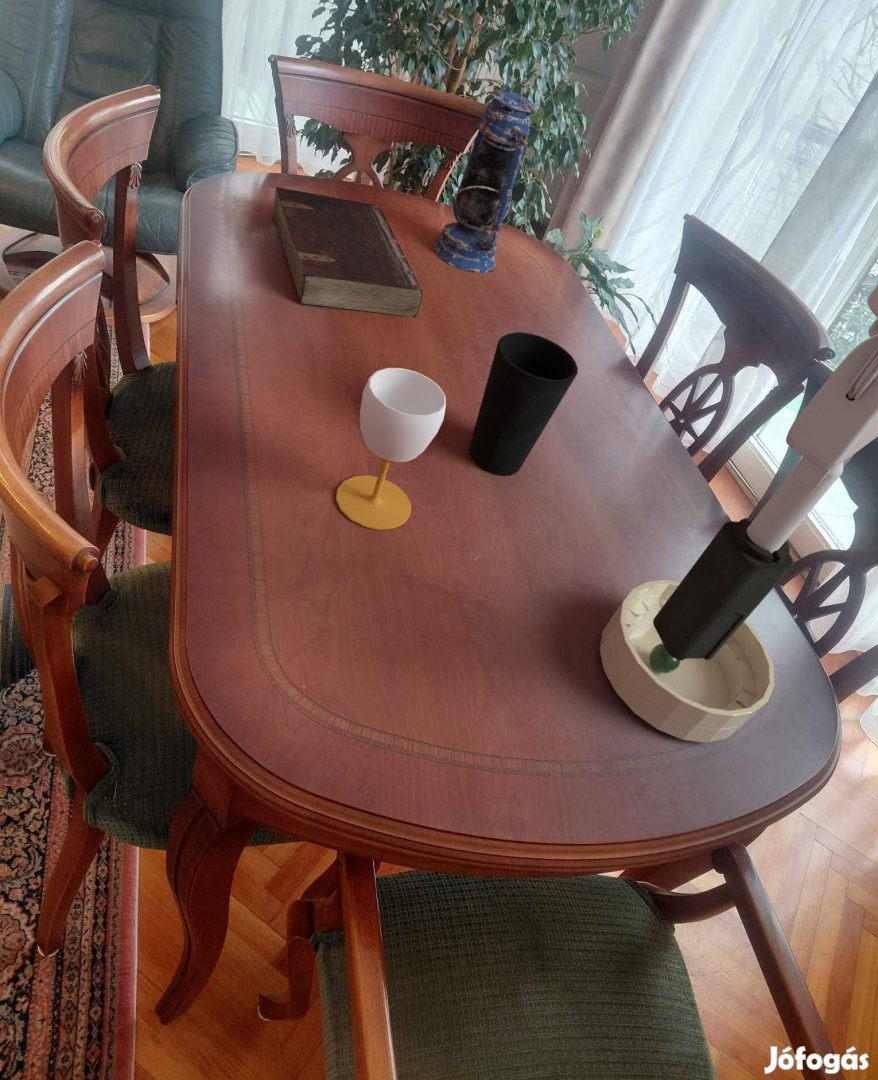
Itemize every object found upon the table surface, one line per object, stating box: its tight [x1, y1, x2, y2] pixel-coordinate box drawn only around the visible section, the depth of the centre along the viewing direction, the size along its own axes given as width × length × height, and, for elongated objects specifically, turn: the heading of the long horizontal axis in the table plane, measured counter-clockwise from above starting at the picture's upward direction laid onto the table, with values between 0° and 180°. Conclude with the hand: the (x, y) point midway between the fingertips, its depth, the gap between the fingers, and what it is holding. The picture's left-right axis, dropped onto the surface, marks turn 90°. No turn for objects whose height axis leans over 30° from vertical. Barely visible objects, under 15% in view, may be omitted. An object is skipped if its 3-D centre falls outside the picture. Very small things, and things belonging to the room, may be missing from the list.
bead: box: [650, 643, 681, 673], centre depth 84 cm, size 3×3×3 cm
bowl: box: [599, 579, 775, 744], centre depth 83 cm, size 17×17×6 cm
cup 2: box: [468, 331, 579, 477], centre depth 99 cm, size 10×10×16 cm
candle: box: [653, 456, 844, 661], centre depth 64 cm, size 5×5×25 cm
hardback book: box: [272, 186, 423, 318], centre depth 129 cm, size 29×19×5 cm, turn 17°
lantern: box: [432, 80, 537, 274], centre depth 136 cm, size 15×12×30 cm
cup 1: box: [335, 367, 447, 531], centre depth 86 cm, size 9×9×16 cm
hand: (817, 472), depth 59 cm, fingers closed on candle, 3 cm apart
